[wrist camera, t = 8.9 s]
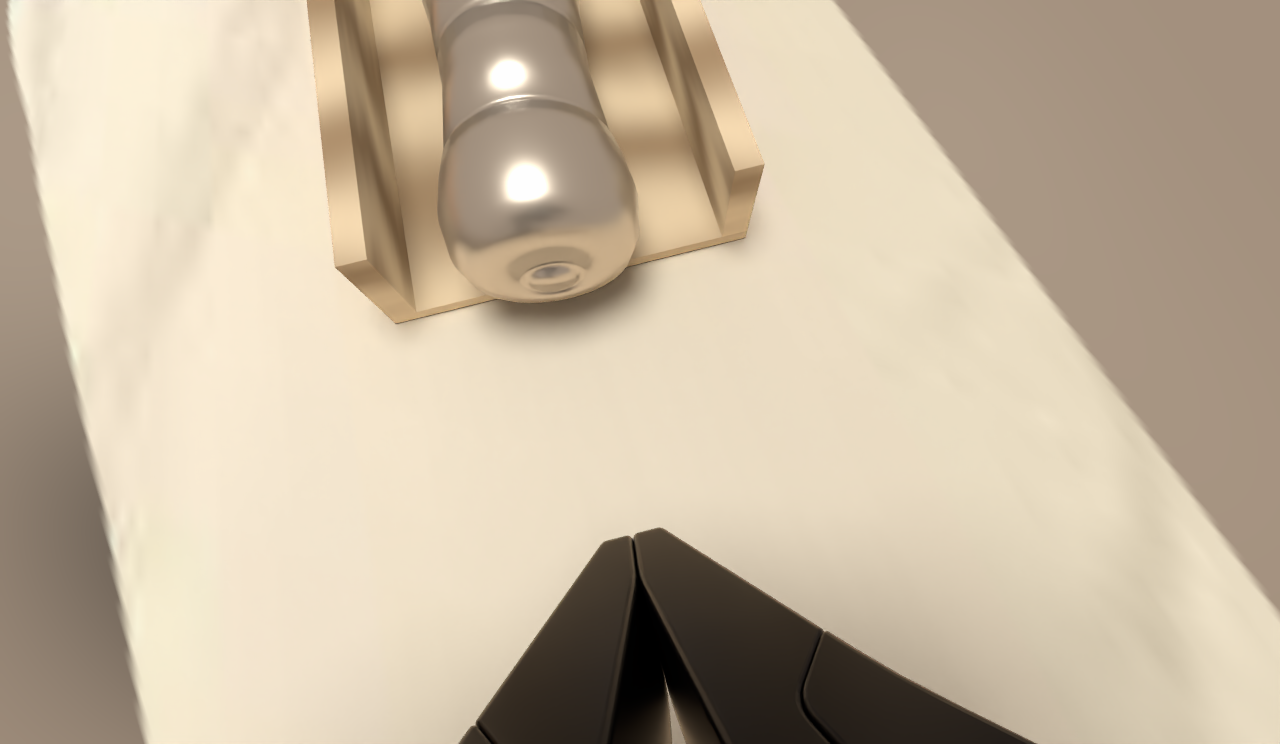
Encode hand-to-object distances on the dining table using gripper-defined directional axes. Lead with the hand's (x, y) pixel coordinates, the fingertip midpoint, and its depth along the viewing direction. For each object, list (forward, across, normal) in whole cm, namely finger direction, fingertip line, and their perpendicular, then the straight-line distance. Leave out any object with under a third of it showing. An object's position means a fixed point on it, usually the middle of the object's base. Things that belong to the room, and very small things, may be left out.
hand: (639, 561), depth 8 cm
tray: (+24, 0, +9) cm, 26 cm away
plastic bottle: (+12, -1, +1) cm, 13 cm away
